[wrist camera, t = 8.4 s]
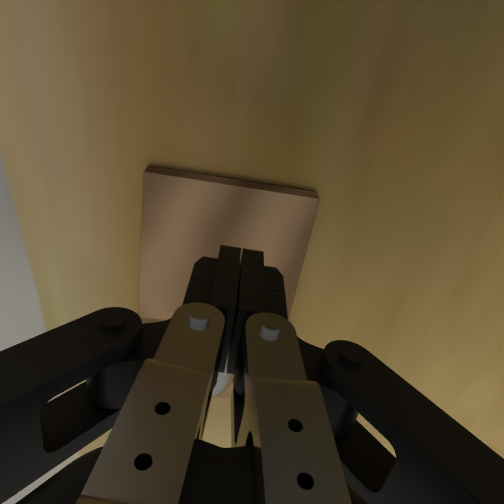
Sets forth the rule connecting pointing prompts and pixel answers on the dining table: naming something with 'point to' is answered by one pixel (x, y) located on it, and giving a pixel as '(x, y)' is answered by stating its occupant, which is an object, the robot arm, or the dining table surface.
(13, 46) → the dining table surface
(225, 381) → the ball
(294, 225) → the wooden cutting board
